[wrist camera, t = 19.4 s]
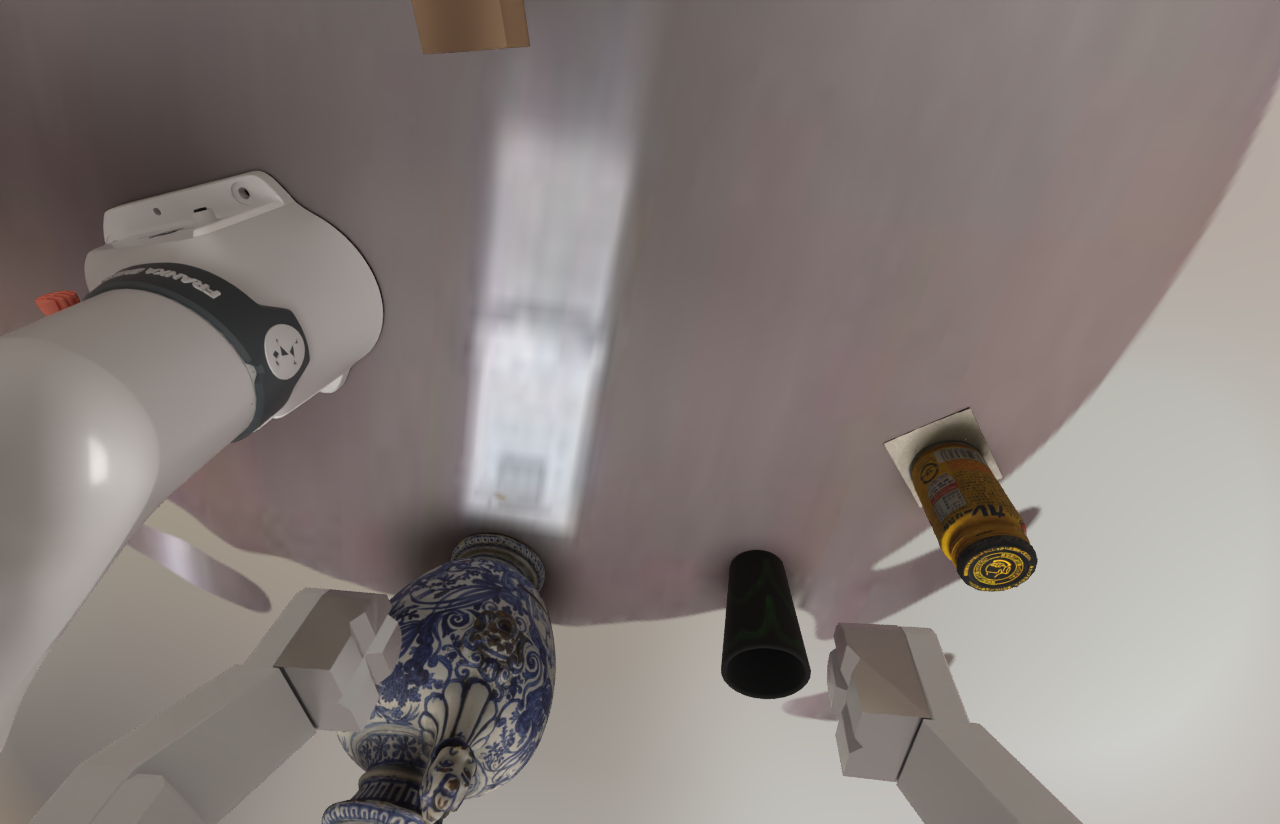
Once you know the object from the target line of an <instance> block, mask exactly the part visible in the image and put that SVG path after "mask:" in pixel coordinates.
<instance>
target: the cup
mask: <svg viewBox="0 0 1280 824" xmlns="http://www.w3.org/2000/svg"><path fill="white" fill-rule="evenodd" d="M721 674H722V677H723V679H724V681H725V682H726V683H727V684H728V685H729V686H730V687H731V688H732V689H734V690H735V691H737V692H739V693H741V694H743V695H746V696H749V697H753V698H760V699H775V698H782V697H786V696H789V695H792V694H794V693H796V692H797V691H799V690H801V689H802V688H803V687H804V686H805V685H806V684H807V683H808V681H809V679H810V674H811V670H810V666H809V662H808V658H807V654H806V650H805V647H804V643H803V639H802V635H801V631H800V627H799V623H798V620H797V616H796V612H795V608H794V604H793V600H792V596H791V593H790V589H789V585H788V581H787V577H786V573H785V570H784V566H783V563H782V561H781V560H780V559H779V558H778V557H777V556H776V555H774V554H772V553H770V552H767V551H761V550H752V551H747V552H744V553H742V554H739V555H738V556H737V557H735V558H734V560H733V561H732V562H731V565H730V572H729V584H728V595H727V607H726V619H725V630H724V642H723V653H722V665H721Z"/></svg>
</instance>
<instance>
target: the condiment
mask: <svg viewBox="0 0 1280 824" xmlns="http://www.w3.org/2000/svg"><path fill="white" fill-rule="evenodd" d="M965 439H967V440H965ZM884 445H885V447H886V449H887V450H888V452H889V454H890V456H891V457H892V459H893V461H894V462H895V464H896V466H897V468H898V470H899V471H900V473H901V475H902V477H903V478H904V480H905V482H906V484H907V485H908V487H909V489H910V491H911V492H912V494H913V496H914V498H915V500H916V501H917V503H918V505H919V507H920V508H922V507H923V508H924V510H925V513H926V516H927V518H928V520H929V522H930V524H931V526H932V528H933V531H934V533H935V535H936V537H937V539H938V542H939V545H940V548H941V549H942V550H943V552H944V554H945V555H946V556H947V557H948V558H949V559H950V560H952V562H953V564H954V566H955V567H956V568H957V572H958V574H959V575H960V577H961V579H962V580H963V581H964V582H965V583H966V584H967V585H969V586H971V587H973V588H975V589H977V590H981V591H1003V590H1006V589H1011V588H1013V587H1017V586H1018V585H1019V584H1021V583H1023V582H1025V581H1026V580H1027V579H1028V578H1029V577H1030V576H1031V575H1032V574H1033V573H1034V571H1035V569H1036V565H1037V557H1036V552H1035V550H1034V549H1033V547H1032V546H1031V545H1030V542H1029V540H1028V538H1027V536H1026V527H1025V524H1024V523H1023V520H1022V518H1021V516H1020V515H1019V514H1018V512H1017V510H1016V509H1015V507H1014V506H1013V504H1012V503H1011V501H1010V500H1009V498H1008V497H1007V495H1006V494H1005V492H1004V490H1003V489H1002V487H1001V485H1000V484H999V482H998V481H997V480H998V479H1000V478H1003V477H1002V475H1001V473H1000V471H999V469H998V467H997V465H996V463H995V460H994V458H993V456H992V454H991V452H990V450H989V448H988V445H987V443H986V441H985V439H984V437H983V435H982V432H981V430H980V428H979V426H978V424H977V422H976V420H975V417H974V415H973V413H972V411H971V409H968V410H965V411H962V412H960V413H956V414H954V415H951V416H948V417H946V418H944V419H941V420H938V421H935V422H933V423H931V424H928V425H926V426H924V427H921V428H917V429H916V430H914V431H912V432H910V433H908V434H905V435H902V436H900V437H898V438H896V439H894V440H891V441H889V442H887V443H884ZM916 447H918V449H917V450H915V449H916ZM915 451H917V453H916V454H914V452H915Z"/></svg>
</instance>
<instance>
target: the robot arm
mask: <svg viewBox="0 0 1280 824" xmlns="http://www.w3.org/2000/svg"><path fill="white" fill-rule="evenodd" d="M245 189H247V190H248V192H249V194H250V196H248V195H247V194H246V192H245ZM103 231H104V239H105V244H106V245H104V246H101V247H98V248H96V249H93V250H91V251H90V252H89V253H88V254H87V256H86V260H85V268H84V271H85V279H86V282H87V286H88V289H89V292H90V293H89V294H88V295H86V297H85V298H84V299H83V301H82V302H80V300H79V298H78V296H77V294H76V292H74V291H58V292H53V293H49V294H46V295H43V296H40V297H38V298H37V299H36V300H35V303H36V304H37V306H38V307H39V309H40V310H41V311H42V312H43V313H44V314H45V315H46V317H44V318H42V319H39V320H37V321H35V322H32V323H30V324H28V325H25V326H23V327H21V328H18V329H16V330H14V331H11V332H9V333H7V334H4V335H2V336H0V753H1V751H2V749H3V747H4V745H5V743H6V741H7V738H8V735H9V733H10V730H11V727H12V724H13V721H14V718H15V716H16V713H17V711H18V708H19V706H20V704H21V701H22V699H23V697H24V695H25V693H26V691H27V689H28V687H29V685H30V683H31V681H32V679H33V678H34V676H35V674H36V673H37V671H38V669H39V668H40V666H41V664H42V663H43V661H44V659H45V658H46V656H47V655H48V654H49V652H50V651H51V649H52V648H53V646H54V645H55V643H56V642H57V641H58V639H59V638H60V636H61V635H62V633H63V632H64V631H65V629H66V628H67V626H68V625H69V623H70V622H71V621H72V619H73V618H74V616H75V615H76V613H77V612H78V611H79V609H80V608H81V606H82V605H83V604H84V602H85V601H86V600H87V598H88V597H89V595H90V594H91V593H92V591H93V590H94V588H95V587H96V586H97V584H98V583H99V581H100V580H101V579H102V577H103V576H104V574H105V573H106V572H107V570H108V569H109V568H110V566H111V565H112V563H113V562H114V561H115V559H116V558H117V557H118V555H119V554H120V553H121V551H122V550H123V548H124V547H125V546H126V545H127V543H128V542H129V541H130V539H131V538H132V537H133V536H134V534H135V533H136V532H137V531H138V529H139V528H140V527H141V526H142V525H143V523H144V522H145V521H146V520H147V518H148V517H149V516H150V515H151V514H152V513H153V512H154V511H155V510H156V509H157V508H158V507H159V506H160V505H161V504H162V503H163V502H164V500H166V499H167V498H168V497H169V496H170V495H171V494H172V493H174V492H175V491H176V490H177V489H178V488H179V487H180V486H181V485H183V484H184V483H185V482H186V481H187V480H188V479H189V478H190V477H192V476H193V475H194V474H195V473H196V472H197V471H198V470H199V469H201V468H202V467H203V466H204V465H205V464H206V463H207V462H208V461H210V460H211V459H212V458H213V457H214V456H215V455H217V454H218V453H219V452H220V451H221V450H222V449H223V448H225V447H226V446H227V445H228V444H229V443H234V442H237V441H239V440H242V439H243V438H245V437H247V436H248V435H250V434H251V433H253V432H255V431H256V430H258V429H260V428H261V427H262V426H264V425H265V424H266V423H268V422H269V421H270V420H271V419H272V418H281V417H283V416H285V415H287V414H288V413H290V412H291V411H293V410H294V409H296V408H297V407H298V406H300V405H301V404H303V403H304V402H306V401H307V400H308V399H310V398H311V397H313V396H314V395H315V394H317V393H318V392H324V393H333V392H335V391H336V390H338V389H339V388H340V387H342V386H343V384H344V383H345V381H346V379H347V376H348V373H349V371H350V368H351V367H352V366H353V365H354V364H355V363H356V362H357V361H359V360H360V359H362V358H363V357H364V356H365V355H367V354H368V353H369V352H370V351H371V349H372V348H373V347H374V345H375V344H376V342H377V340H378V338H379V335H380V332H381V329H382V323H383V306H382V299H381V295H380V291H379V288H378V285H377V283H376V280H375V278H374V276H373V274H372V272H371V270H370V268H369V266H368V265H367V263H366V261H365V260H364V259H363V257H362V256H361V254H360V253H359V252H358V250H357V249H356V248H355V247H354V246H353V245H352V243H351V242H350V241H349V240H348V239H347V238H346V237H345V236H343V235H342V234H341V233H340V232H339V231H338V230H337V229H335V228H334V227H333V226H331V225H330V224H329V223H327V222H326V221H324V220H323V219H321V218H319V217H318V216H316V215H314V214H313V213H311V212H309V211H308V210H306V209H304V208H303V207H301V206H300V205H299V204H297V203H296V202H295V201H294V200H293V199H292V197H291V196H290V195H289V194H288V193H287V192H286V191H285V190H284V189H283V188H282V187H281V186H280V185H279V184H278V183H277V182H276V181H275V180H274V179H273V178H272V177H271V176H269V175H268V174H266V173H264V172H262V171H251V172H247V173H244V174H240V175H236V176H232V177H228V178H224V179H220V180H216V181H212V182H208V183H204V184H200V185H197V186H193V187H189V188H185V189H181V190H177V191H173V192H169V193H165V194H161V195H157V196H153V197H149V198H146V199H142V200H138V201H134V202H130V203H126V204H122V205H119V206H116V207H114V208H112V209H109V210H107V211H106V212H105V214H104V221H103ZM391 607H392V605H391V603H390V601H389V599H388V596H387V595H386V594H375V593H363V592H353V591H340V590H332V589H318V588H304V589H303V590H302V591H300V592H298V593H297V594H296V595H295V596H294V597H293V599H292V600H291V601H290V603H289V604H288V605H287V607H286V608H285V609H284V611H283V612H282V613H281V615H280V616H279V617H278V619H277V620H276V621H275V623H274V624H273V625H272V627H271V628H270V629H269V631H268V632H267V633H266V635H265V636H264V637H263V639H262V640H261V641H260V643H259V644H258V645H257V647H256V648H255V649H254V651H253V652H252V653H251V655H250V656H249V657H248V659H247V660H246V661H245V663H244V664H243V665H234V666H232V667H230V668H229V669H227V670H226V671H224V672H223V673H221V674H219V675H218V676H217V677H215V678H213V679H212V680H210V681H209V682H207V683H205V684H204V685H202V686H201V687H199V688H198V689H196V690H194V691H193V692H191V693H190V694H188V695H187V696H185V697H184V698H182V699H180V700H179V701H177V702H176V703H174V704H173V705H171V706H169V707H168V708H166V709H165V710H163V711H162V712H160V713H159V714H157V715H155V716H154V717H152V718H151V719H149V720H148V721H146V722H144V723H143V724H141V725H140V726H138V727H137V728H135V729H134V730H132V731H130V732H129V733H128V734H126V735H124V736H123V737H121V738H119V739H118V740H116V741H115V742H113V743H112V744H110V745H109V746H107V747H105V748H104V749H102V750H101V751H99V752H98V753H96V754H94V755H93V756H91V757H90V758H88V759H87V760H85V761H83V762H82V763H80V764H79V765H78V766H77V767H76V769H75V770H74V771H73V772H72V773H71V774H70V776H69V777H68V778H67V779H66V780H65V781H64V782H63V784H62V785H61V786H60V787H59V788H58V790H56V792H55V793H54V794H53V795H52V796H51V798H50V799H49V800H48V801H47V802H46V803H45V804H44V805H43V807H42V808H41V809H40V810H39V811H38V812H37V813H36V814H35V816H34V817H33V818H32V819H31V820H30V821H29V823H28V824H217V823H218V822H219V821H220V820H221V819H223V818H224V817H225V816H226V815H227V814H228V813H229V812H230V811H231V810H232V809H233V808H235V807H236V806H237V805H238V804H239V803H240V802H241V801H242V800H243V799H244V798H246V797H247V796H248V795H249V794H250V793H251V792H252V791H253V790H254V789H255V788H256V787H258V786H259V785H260V784H261V783H262V782H263V781H264V780H265V779H266V778H267V777H268V776H269V775H271V774H272V773H273V772H274V771H275V770H276V769H277V768H278V767H279V766H280V765H282V764H283V763H284V762H285V761H286V760H287V759H288V758H289V757H290V756H291V755H292V754H294V753H295V752H296V751H297V750H298V749H299V748H300V747H301V746H302V745H303V744H305V742H307V741H308V740H309V739H310V738H311V737H312V736H313V735H314V734H315V733H316V730H329V731H346V732H362V731H363V729H364V727H365V725H366V723H367V721H368V719H369V717H370V715H371V713H372V711H373V709H374V707H375V705H376V703H377V701H378V699H379V697H380V695H379V690H378V684H379V683H380V682H382V681H383V680H384V679H385V678H387V677H388V676H389V675H391V673H392V671H393V669H394V667H395V665H396V663H397V661H398V658H399V654H400V649H401V645H402V635H401V629H400V626H399V623H398V622H397V621H396V620H395V619H393V618H392V617H391V616H389V615H388V613H389V611H390V609H391ZM834 640H835V645H836V649H834V650H833V651H831V652H830V655H829V660H828V666H827V685H828V695H829V701H830V707H831V709H832V711H833V712H834V713H835V714H836V715H837V716H838V718H839V723H838V727H837V731H836V740H837V746H838V751H839V757H840V762H841V767H842V773H843V776H850V777H858V778H866V779H875V780H883V781H892V782H897V786H898V787H899V789H900V790H901V792H902V793H903V795H904V796H905V797H906V799H907V800H908V801H909V803H910V804H911V806H912V807H913V808H914V810H915V811H916V812H917V814H918V815H919V817H920V818H921V819H922V821H923V822H924V823H925V824H1083V823H1082V822H1081V821H1080V820H1079V819H1077V818H1076V817H1075V816H1074V815H1073V814H1072V813H1071V812H1070V811H1069V810H1068V809H1067V808H1066V807H1065V806H1064V805H1063V804H1062V803H1061V802H1060V801H1059V800H1058V799H1057V798H1056V797H1055V796H1054V795H1053V794H1052V793H1051V792H1050V791H1049V790H1048V789H1047V788H1046V787H1044V786H1043V785H1042V784H1041V783H1040V782H1039V781H1038V780H1037V779H1036V778H1035V777H1034V776H1033V775H1032V774H1031V773H1030V772H1029V771H1028V770H1027V769H1026V768H1025V767H1024V766H1023V765H1022V764H1021V763H1020V762H1019V761H1017V759H1016V758H1015V757H1013V756H1012V755H1011V754H1010V753H1009V752H1008V751H1007V750H1006V749H1005V748H1004V747H1003V746H1002V745H1001V744H1000V743H999V742H998V741H997V740H996V739H995V738H994V737H993V736H992V735H991V734H990V733H989V732H988V731H987V730H986V729H985V728H984V727H983V726H981V725H980V724H976V723H970V722H969V719H968V716H967V714H966V711H965V708H964V706H963V703H962V701H961V698H960V695H959V693H958V690H957V688H956V685H955V682H954V680H953V677H952V675H951V672H950V669H949V667H948V664H947V661H946V659H945V656H944V654H943V651H942V649H941V646H940V643H939V641H938V638H937V636H936V634H935V633H934V631H933V630H932V629H930V628H918V627H898V626H896V625H878V624H858V623H838V625H837V626H836V629H835V633H834Z"/></svg>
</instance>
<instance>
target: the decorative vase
mask: <svg viewBox="0 0 1280 824" xmlns="http://www.w3.org/2000/svg"><path fill="white" fill-rule="evenodd" d="M544 581H545V569H544V566H543V563H542V561H541V560H540V558H539V557H538V555H537V554H536V553H535V552H534V551H533V550H532V549H531V548H529V547H528V546H527V545H525V544H523V543H521V542H519V541H518V540H515V539H513V538H511V537H508V536H505V535H500V534H492V533H483V534H475V535H472V536H469V537H467V538H465V539H464V540H462V541H461V542H459V543H458V545H457V546H456V547H455V549H454V551H453V553H452V557H451V561H449V562H447V563H444V564H442V565H440V566H438V567H436V568H434V569H432V570H430V571H428V572H426V573H424V574H422V575H421V576H419V577H418V578H416V579H415V580H414V581H412V582H411V583H410V584H408V585H407V586H406V587H404V588H403V589H402V590H401V591H400V592H398V593H397V594H396V595H395V596H394V597H393V598H391V599H390V600H389V601H390V603H391V605H392V607H391V609H390V611H389V613H388V615H389V616H391V617H392V618H393V619H395V620H396V621H397V622H398V623H399V626H400V629H401V635H402V645H401V649H400V654H399V658H398V661H397V663H396V665H395V667H394V669H393V671H392V673H391V675H389V676H388V677H387V678H385V679H384V680H383V681H382V682H380V683H379V684H378V690H379V695H380V697H379V699H378V701H377V703H376V705H375V707H374V709H373V711H372V713H371V715H370V717H369V719H368V721H367V723H366V725H365V727H364V729H363V731H362V732H346V731H336V733H337V736H338V738H339V741H340V743H341V745H342V746H343V748H344V750H345V751H346V753H347V754H348V755H349V756H350V757H351V759H352V760H353V761H354V762H355V763H356V764H357V765H358V766H360V767H361V768H362V769H363V770H364V771H366V773H364V774H363V775H362V776H361V777H360V779H359V783H358V785H359V791H358V792H357V793H356V794H355V795H354V796H353V797H352V798H351V800H346V801H342V802H338V803H335V804H332V805H331V806H329V807H328V808H327V809H326V810H325V812H324V814H323V817H322V824H442V821H443V819H444V818H445V817H446V816H448V814H449V812H450V811H452V812H455V811H457V810H458V808H459V807H460V805H461V804H462V802H463V800H465V799H471V798H476V797H479V796H481V795H484V794H486V793H488V792H490V791H493V790H495V789H497V788H499V787H501V786H502V785H504V784H505V783H507V782H508V781H509V780H511V779H512V778H513V777H514V776H515V775H517V774H518V773H519V772H520V770H521V769H522V768H523V767H524V766H525V765H526V764H527V762H528V761H529V760H530V758H531V757H532V755H533V754H534V752H535V750H536V748H537V746H538V744H539V742H540V740H541V738H542V735H543V732H544V730H545V727H546V723H547V720H548V717H549V713H550V709H551V704H552V698H553V692H554V685H555V673H556V659H555V645H554V637H553V631H552V626H551V622H550V618H549V614H548V611H547V609H546V606H545V604H544V601H543V599H542V597H541V596H540V594H539V592H540V590H541V589H542V586H543V584H544Z"/></svg>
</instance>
